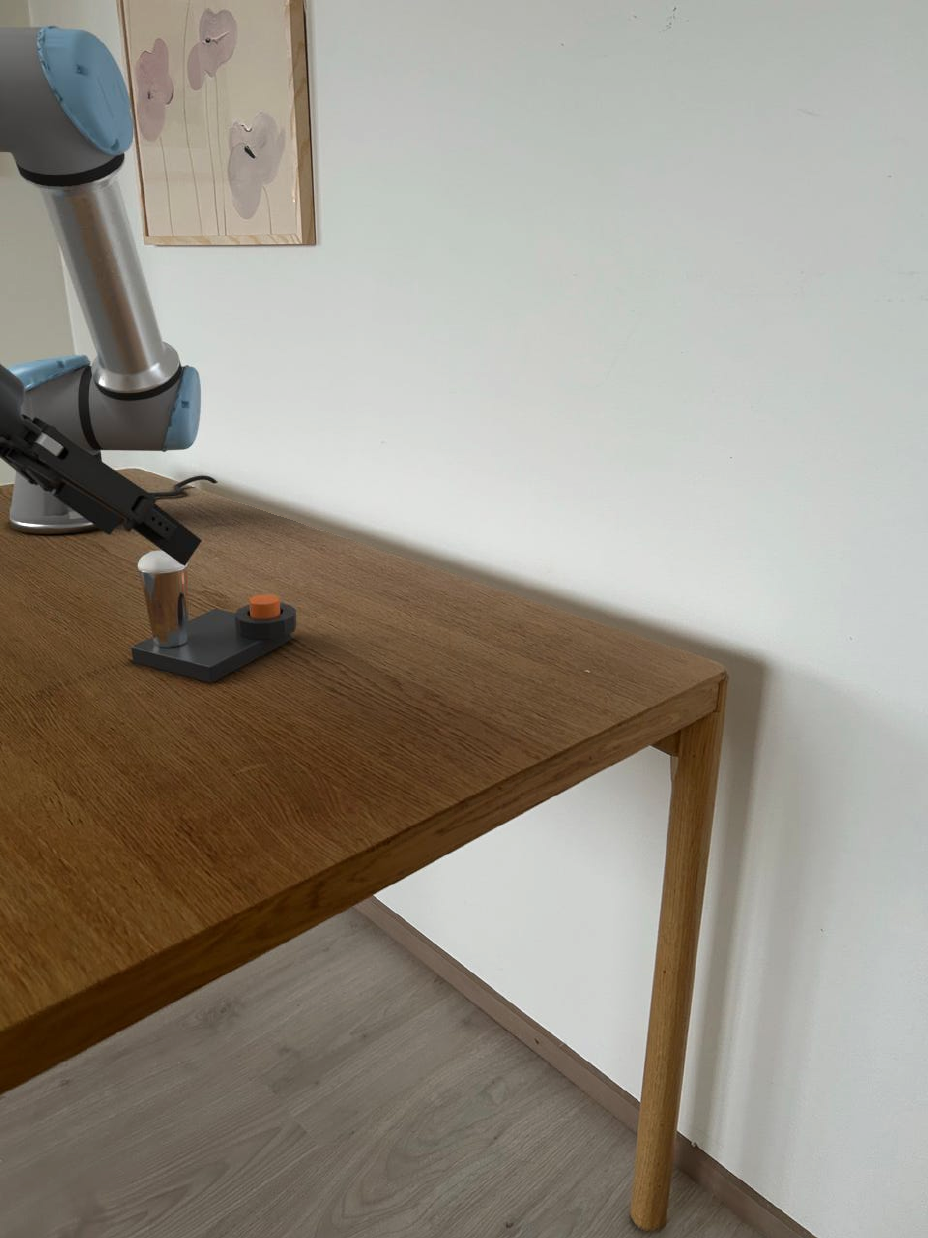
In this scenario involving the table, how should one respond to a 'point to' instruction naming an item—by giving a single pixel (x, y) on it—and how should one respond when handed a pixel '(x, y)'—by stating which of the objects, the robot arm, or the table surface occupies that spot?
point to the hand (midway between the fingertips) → (152, 537)
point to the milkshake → (165, 598)
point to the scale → (219, 643)
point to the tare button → (264, 606)
